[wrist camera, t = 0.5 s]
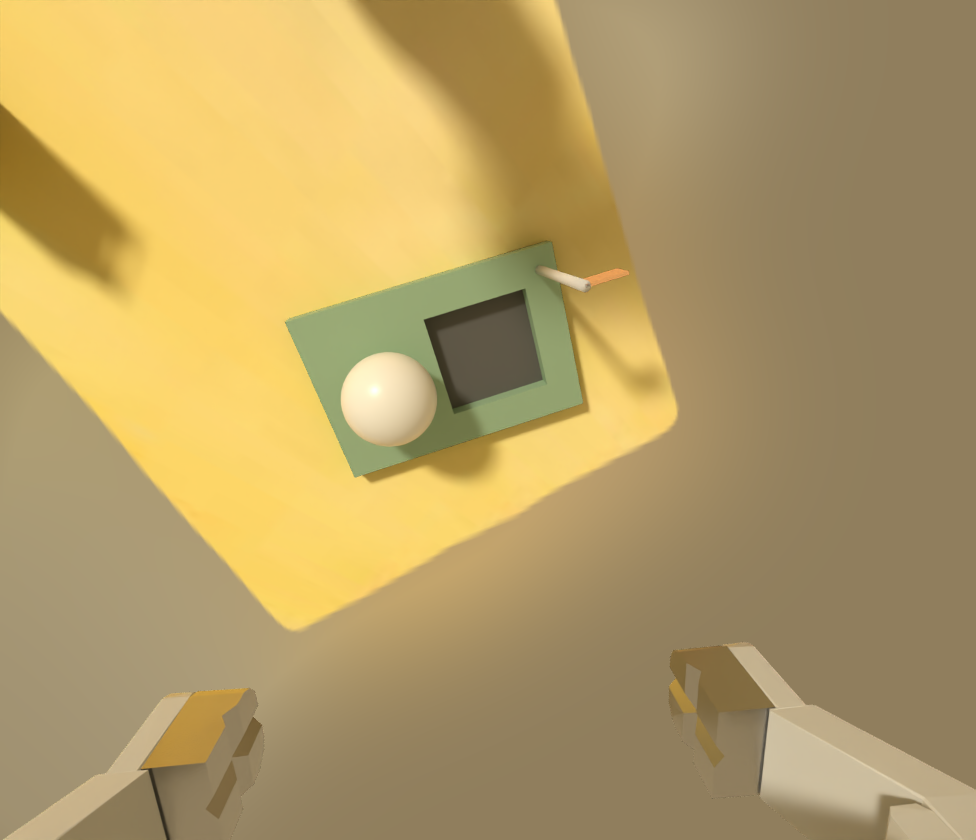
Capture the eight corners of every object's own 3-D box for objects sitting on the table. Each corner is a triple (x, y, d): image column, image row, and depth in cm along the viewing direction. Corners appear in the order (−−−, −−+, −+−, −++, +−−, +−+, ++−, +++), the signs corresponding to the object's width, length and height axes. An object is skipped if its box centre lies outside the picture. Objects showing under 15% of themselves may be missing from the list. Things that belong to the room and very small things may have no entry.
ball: (367, 326, 53) (363, 349, 44) (448, 366, 56) (459, 395, 47) (330, 403, 55) (318, 439, 46) (409, 437, 59) (413, 477, 50)
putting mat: (356, 469, 61) (345, 548, 47) (288, 318, 53) (250, 357, 38) (591, 393, 63) (651, 445, 49) (563, 236, 55) (625, 242, 40)
